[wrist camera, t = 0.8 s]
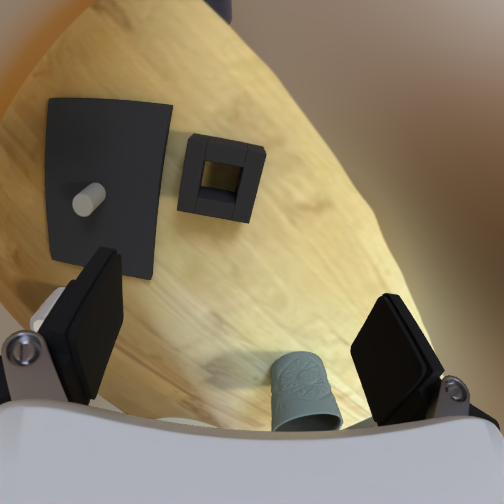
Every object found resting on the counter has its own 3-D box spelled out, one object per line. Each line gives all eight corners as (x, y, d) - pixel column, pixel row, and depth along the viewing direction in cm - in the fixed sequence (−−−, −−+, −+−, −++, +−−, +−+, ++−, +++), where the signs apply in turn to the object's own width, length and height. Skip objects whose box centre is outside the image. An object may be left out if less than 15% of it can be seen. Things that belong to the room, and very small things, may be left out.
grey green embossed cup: (289, 391, 50) (298, 449, 39) (251, 368, 46) (255, 434, 35) (337, 364, 47) (355, 424, 36) (303, 337, 42) (319, 406, 32)
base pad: (54, 97, 24) (30, 102, 20) (173, 105, 26) (162, 108, 22) (55, 254, 33) (39, 274, 29) (152, 274, 36) (144, 298, 32)
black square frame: (193, 133, 28) (188, 138, 25) (263, 146, 29) (266, 153, 26) (182, 197, 31) (176, 210, 28) (247, 209, 32) (248, 223, 29)
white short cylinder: (96, 317, 39) (81, 352, 33) (64, 321, 39) (47, 354, 33) (74, 279, 36) (52, 313, 30) (42, 287, 36) (20, 318, 30)
